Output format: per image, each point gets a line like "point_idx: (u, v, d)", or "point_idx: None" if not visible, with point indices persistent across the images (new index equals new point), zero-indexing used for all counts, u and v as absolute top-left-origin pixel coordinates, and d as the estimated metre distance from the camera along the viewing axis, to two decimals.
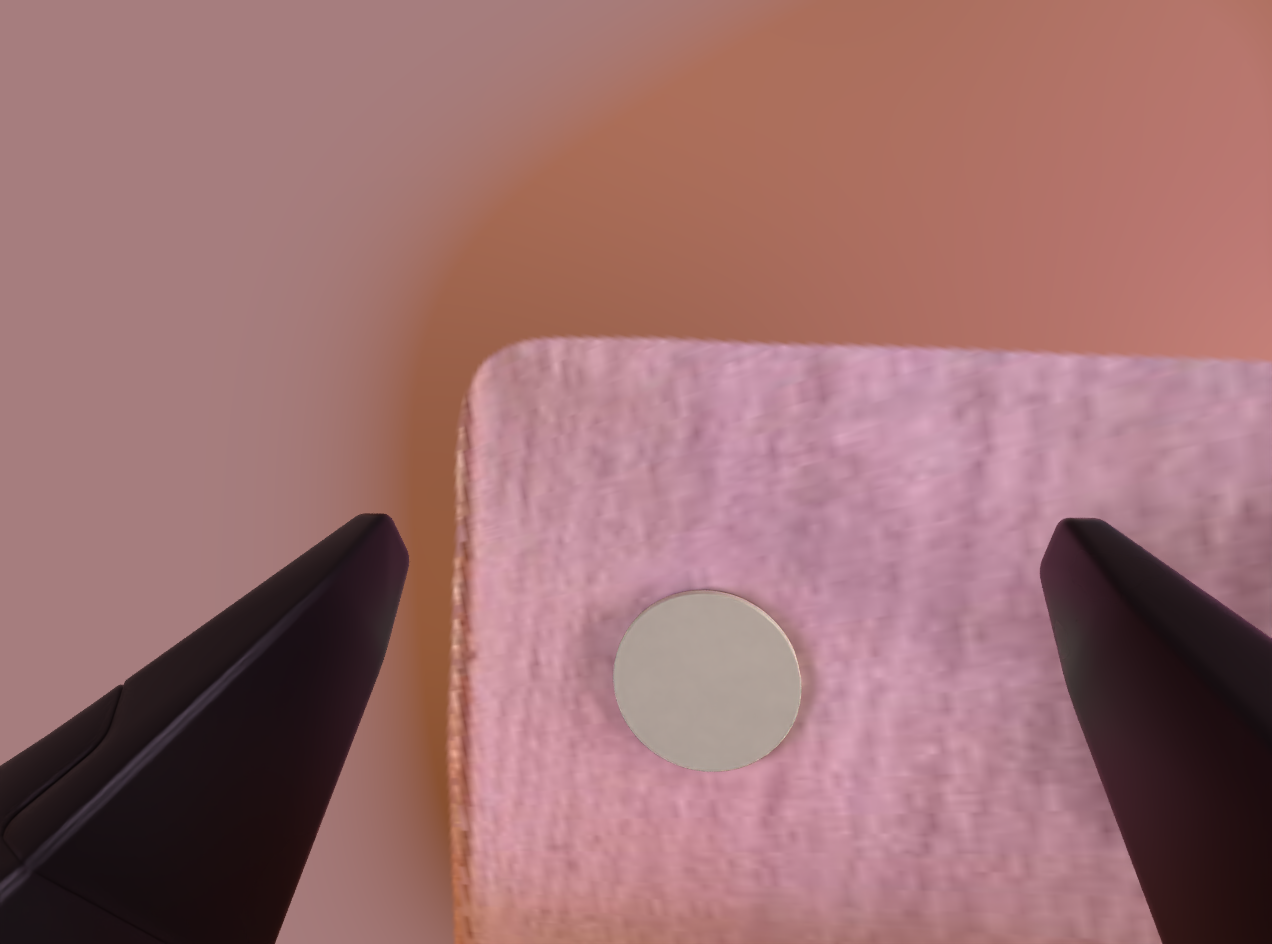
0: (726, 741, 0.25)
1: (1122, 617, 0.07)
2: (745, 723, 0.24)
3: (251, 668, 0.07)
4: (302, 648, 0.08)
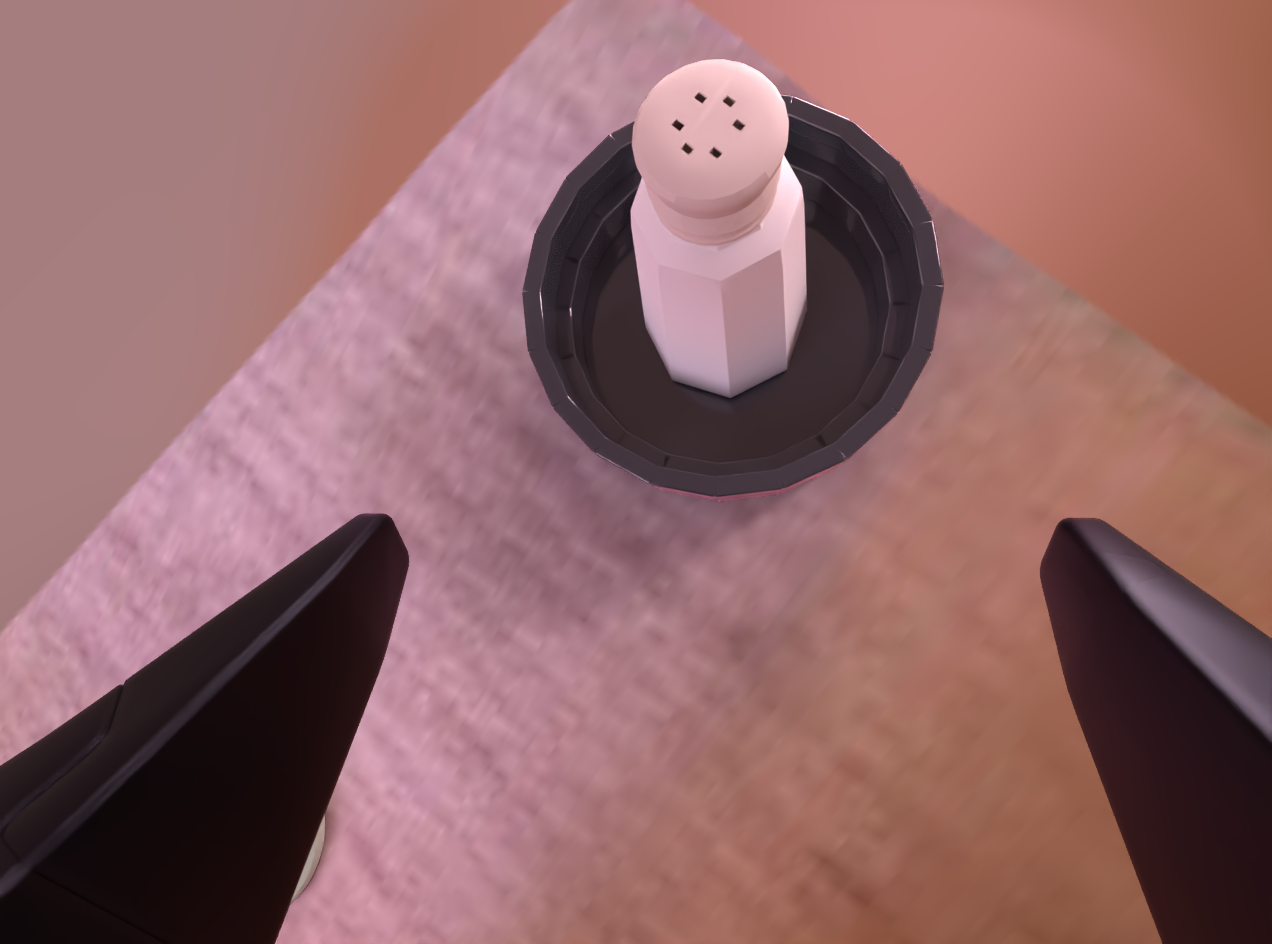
0: None
1: (1122, 617, 0.07)
2: None
3: (251, 668, 0.07)
4: (302, 648, 0.08)
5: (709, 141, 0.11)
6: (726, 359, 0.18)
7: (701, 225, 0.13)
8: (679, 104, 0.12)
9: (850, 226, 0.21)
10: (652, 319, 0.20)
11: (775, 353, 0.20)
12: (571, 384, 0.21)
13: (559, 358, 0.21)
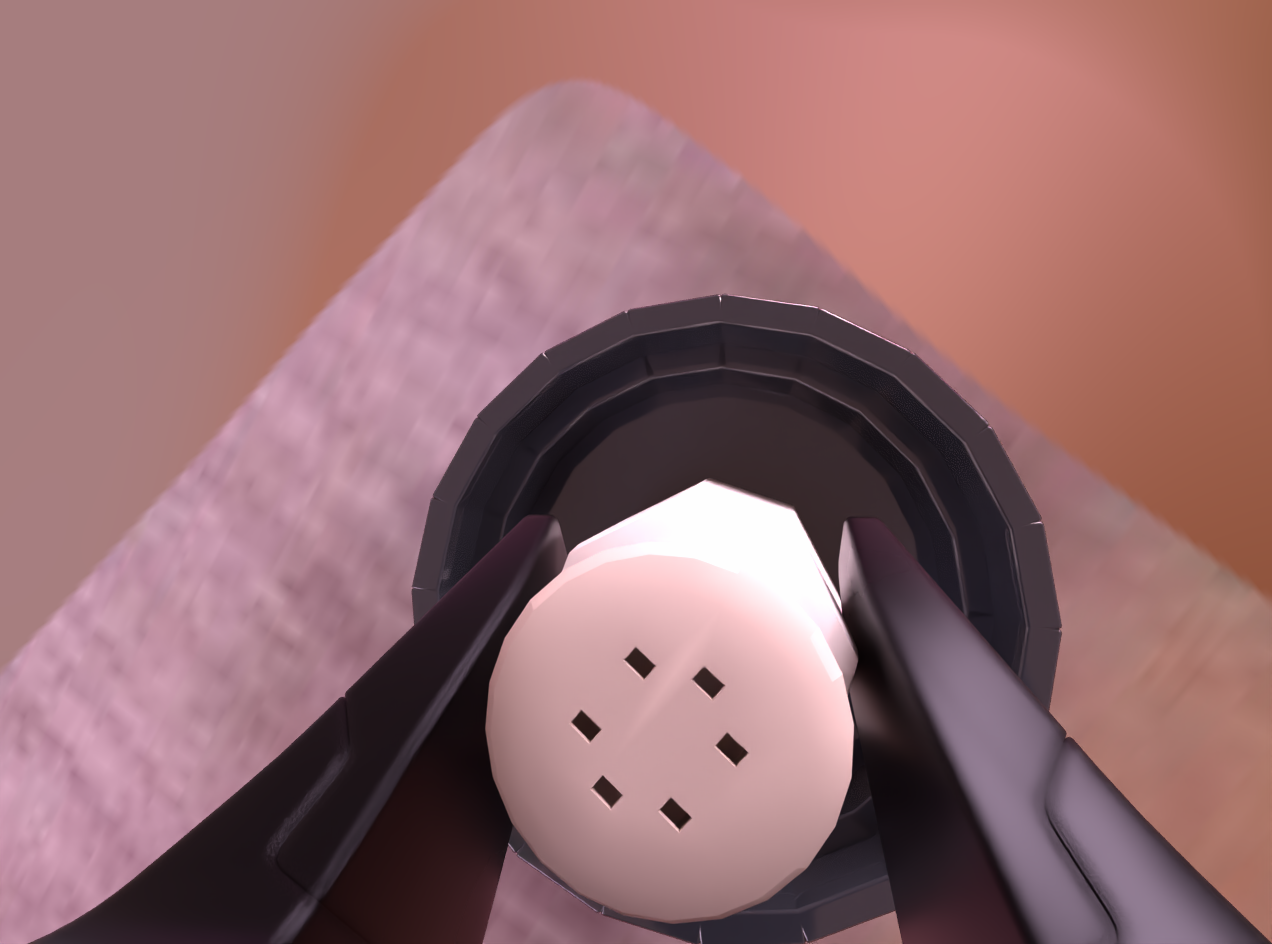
0: None
1: (865, 610, 0.07)
2: None
3: (470, 679, 0.07)
4: None
5: (660, 779, 0.05)
6: None
7: None
8: (591, 675, 0.05)
9: (900, 469, 0.15)
10: None
11: None
12: None
13: None
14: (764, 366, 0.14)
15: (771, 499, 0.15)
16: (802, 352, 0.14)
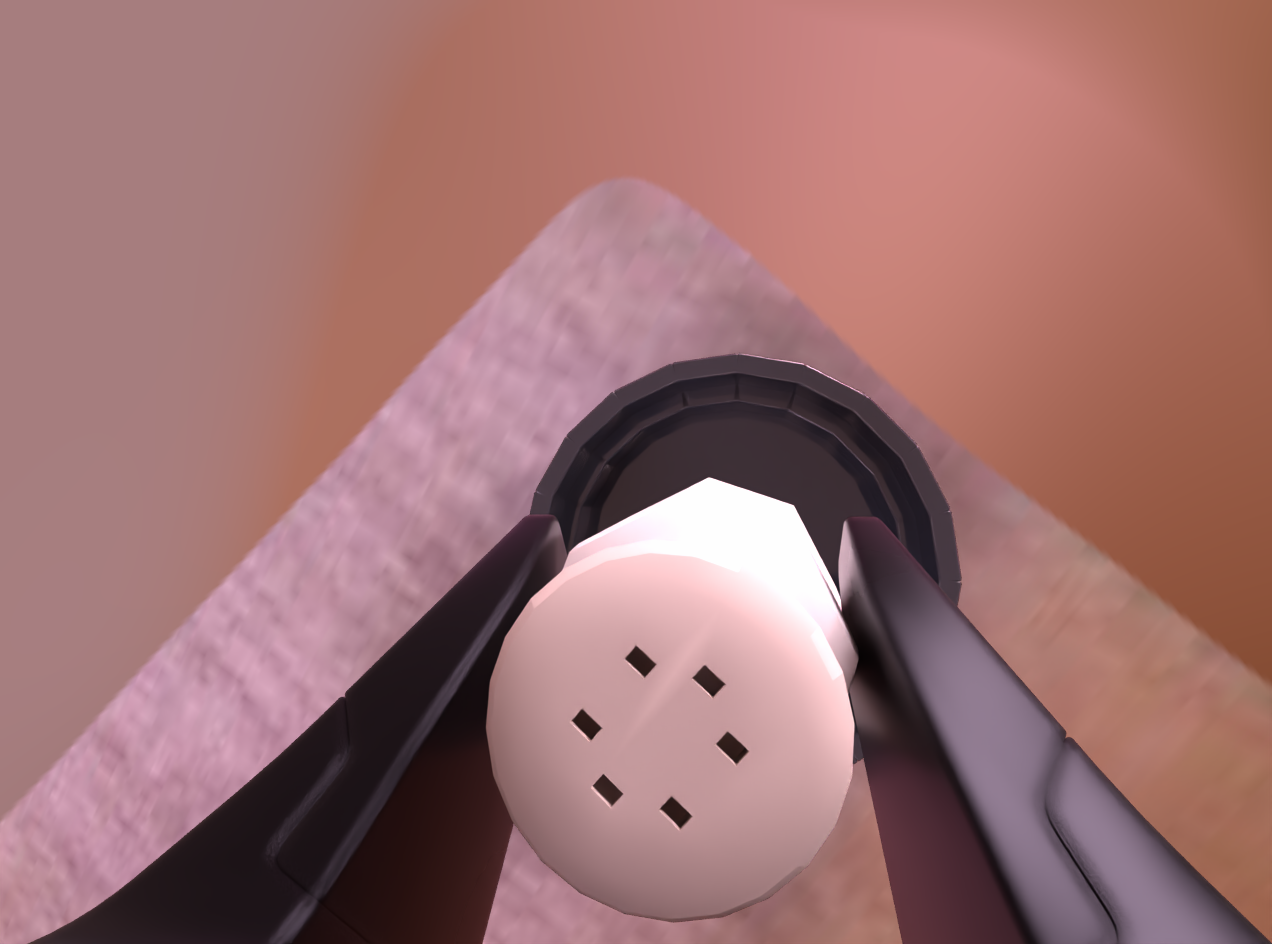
0: None
1: (865, 609, 0.07)
2: None
3: (470, 679, 0.07)
4: None
5: (661, 778, 0.05)
6: None
7: None
8: (591, 674, 0.05)
9: (862, 473, 0.21)
10: None
11: None
12: None
13: None
14: (766, 400, 0.20)
15: (771, 499, 0.15)
16: (793, 391, 0.20)
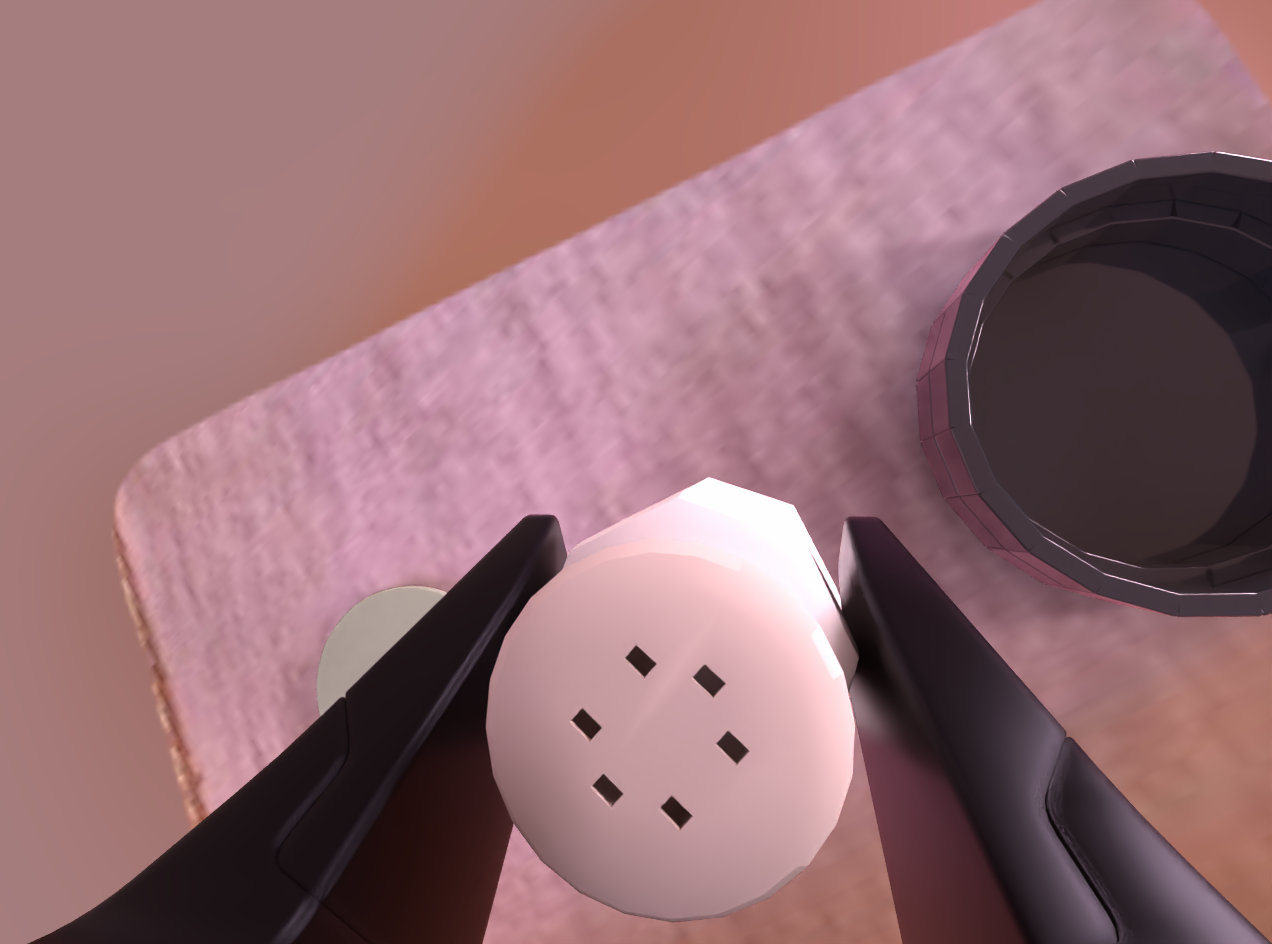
0: None
1: (865, 609, 0.07)
2: None
3: (471, 679, 0.07)
4: None
5: (661, 777, 0.05)
6: None
7: None
8: (591, 672, 0.05)
9: None
10: None
11: None
12: None
13: None
14: (1268, 239, 0.18)
15: (771, 498, 0.15)
16: None
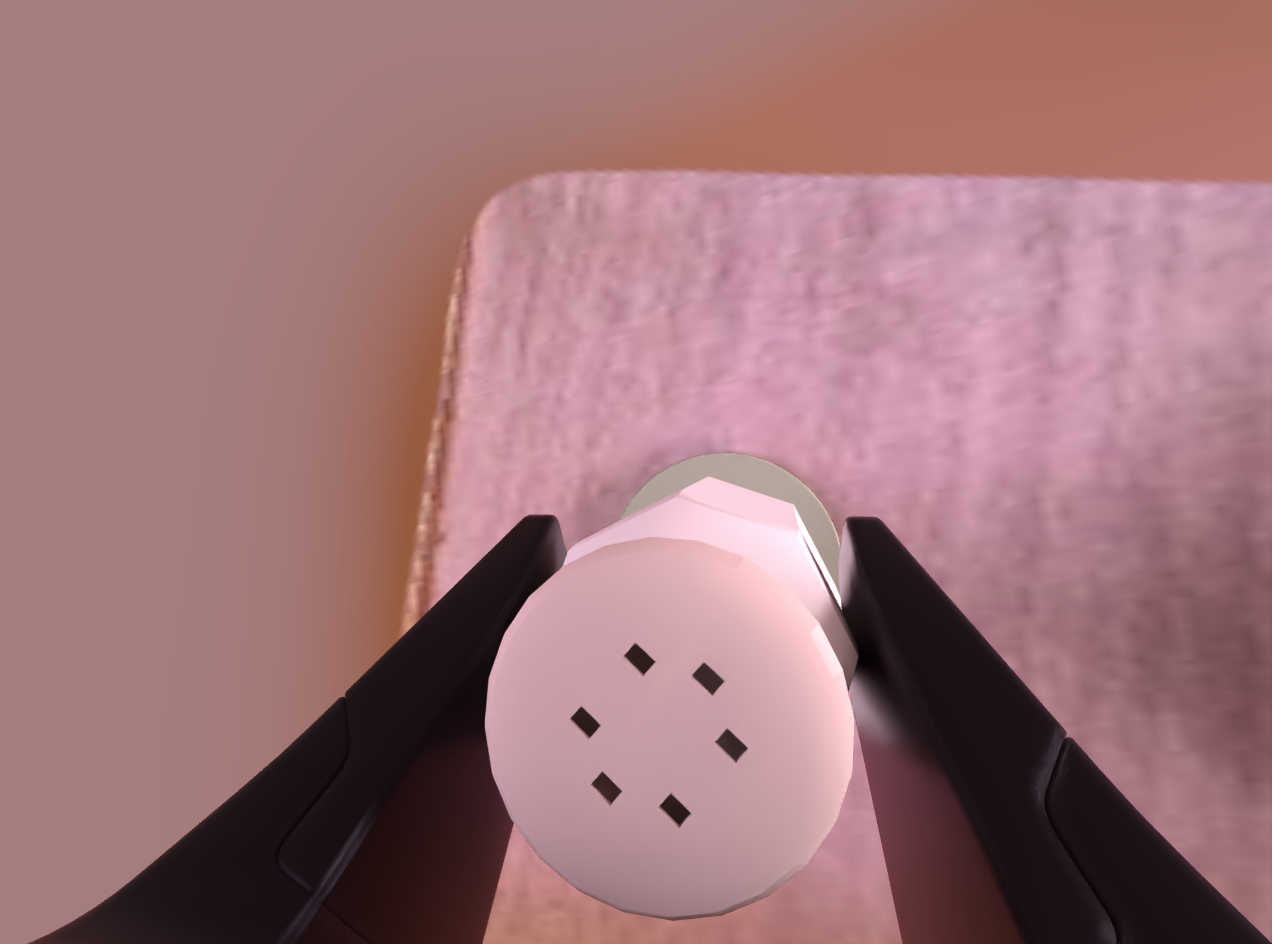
0: None
1: (865, 609, 0.07)
2: None
3: (471, 679, 0.07)
4: None
5: (660, 776, 0.05)
6: None
7: None
8: (591, 670, 0.05)
9: None
10: None
11: None
12: None
13: None
14: None
15: (771, 498, 0.15)
16: None
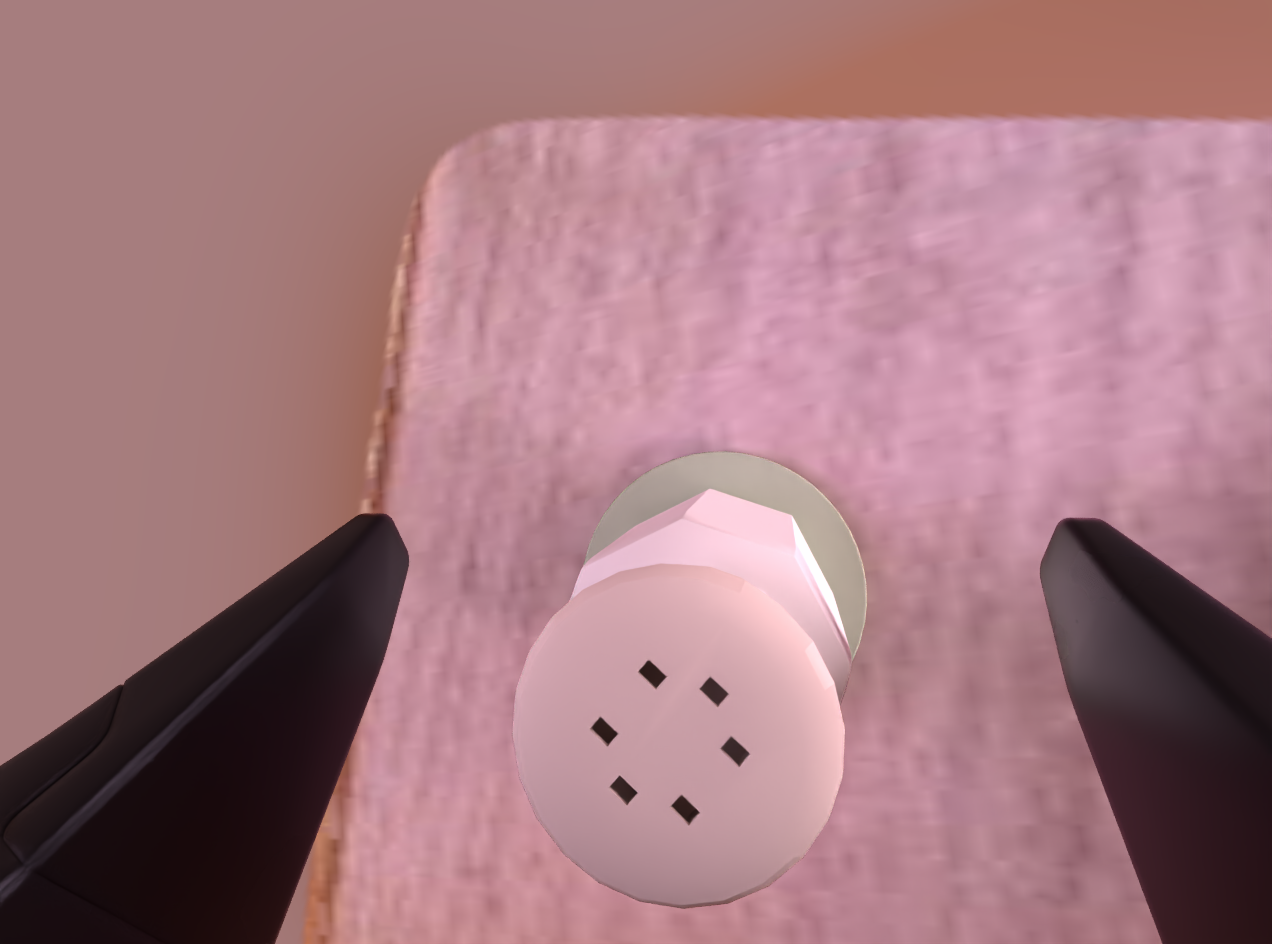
0: None
1: (1122, 617, 0.07)
2: None
3: (251, 668, 0.07)
4: (302, 648, 0.08)
5: (672, 778, 0.05)
6: None
7: None
8: (609, 685, 0.05)
9: None
10: None
11: None
12: None
13: None
14: None
15: (770, 509, 0.16)
16: None
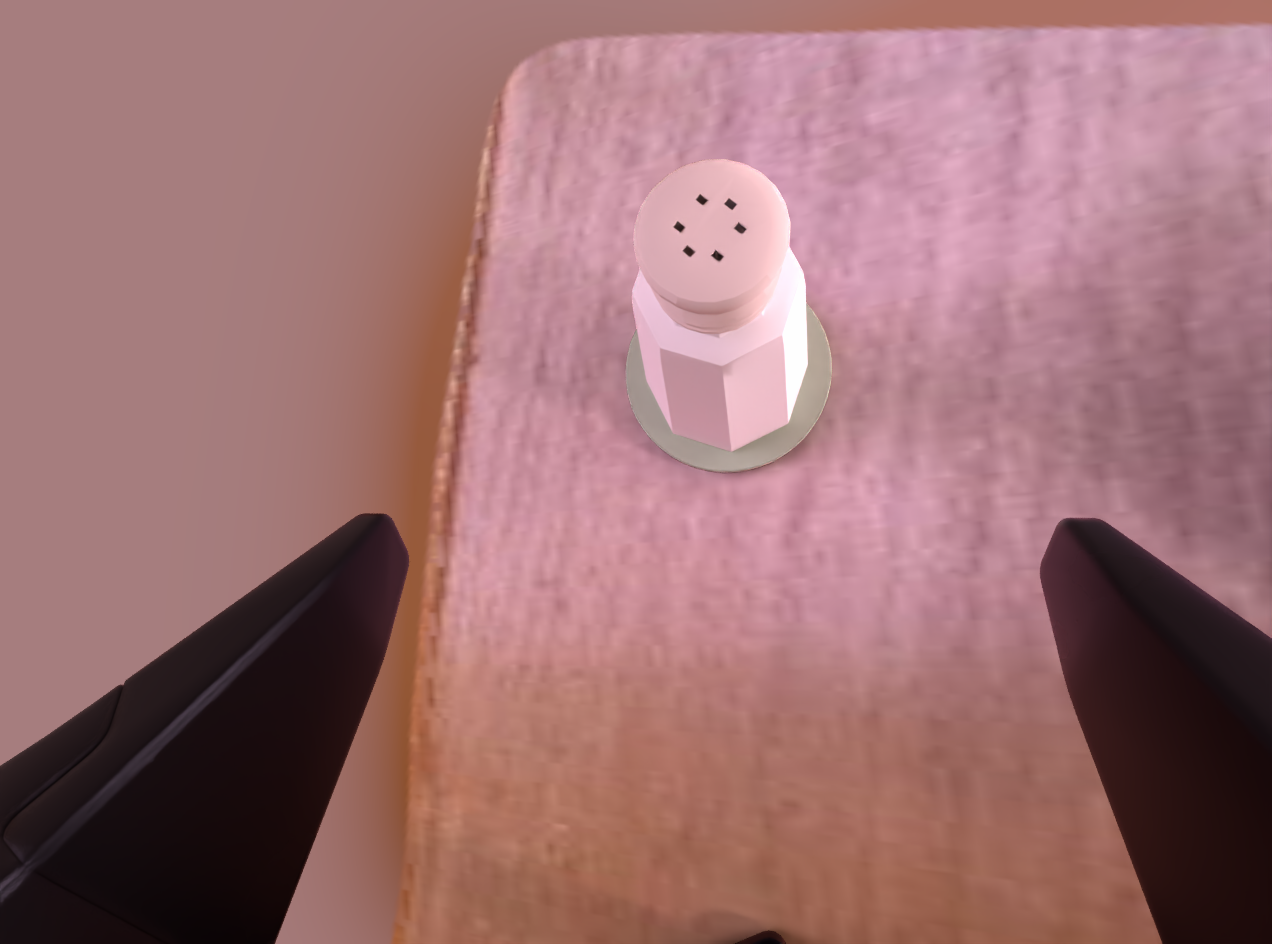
0: None
1: (1122, 617, 0.07)
2: None
3: (251, 668, 0.07)
4: (302, 648, 0.08)
5: (711, 244, 0.11)
6: (727, 423, 0.18)
7: (703, 319, 0.13)
8: (681, 206, 0.12)
9: None
10: (653, 380, 0.20)
11: (776, 413, 0.20)
12: None
13: None
14: None
15: None
16: None
